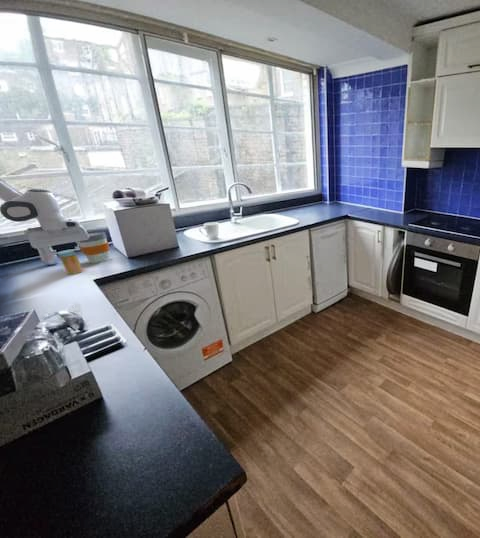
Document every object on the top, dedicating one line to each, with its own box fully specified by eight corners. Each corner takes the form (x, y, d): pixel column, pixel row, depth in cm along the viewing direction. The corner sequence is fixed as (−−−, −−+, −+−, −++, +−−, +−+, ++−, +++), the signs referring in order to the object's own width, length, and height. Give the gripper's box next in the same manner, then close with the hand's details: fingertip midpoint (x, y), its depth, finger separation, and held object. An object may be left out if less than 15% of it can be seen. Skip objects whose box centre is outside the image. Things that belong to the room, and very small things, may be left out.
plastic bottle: (52, 266, 155) (35, 229, 147) (40, 266, 155) (21, 230, 147) (64, 261, 161) (47, 226, 153) (52, 262, 161) (35, 226, 153)
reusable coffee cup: (85, 266, 154) (73, 239, 148) (85, 260, 162) (74, 234, 157) (115, 260, 161) (105, 233, 155) (113, 254, 170) (104, 229, 164)
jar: (67, 275, 143) (57, 255, 139) (67, 272, 147) (58, 252, 143) (82, 272, 146) (74, 252, 142) (83, 268, 151) (74, 249, 146)
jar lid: (58, 258, 139) (56, 254, 138) (59, 255, 144) (57, 251, 143) (75, 255, 143) (74, 251, 142) (76, 252, 147) (74, 248, 146)
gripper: (21, 230, 129) (36, 259, 134) (82, 221, 141) (93, 248, 146) (23, 227, 133) (37, 256, 139) (82, 219, 145) (93, 245, 151)
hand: (66, 252), depth 143 cm, fingers open, 7 cm apart
